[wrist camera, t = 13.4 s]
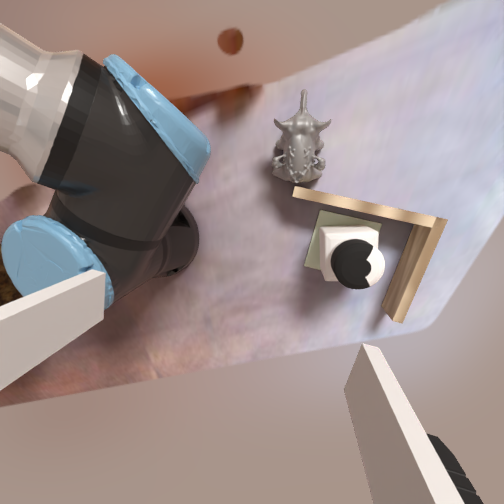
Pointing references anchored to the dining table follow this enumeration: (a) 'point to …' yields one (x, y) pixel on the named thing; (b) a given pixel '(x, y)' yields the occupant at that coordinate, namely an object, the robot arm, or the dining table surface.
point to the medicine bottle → (350, 255)
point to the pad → (331, 220)
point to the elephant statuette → (299, 146)
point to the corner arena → (414, 252)
